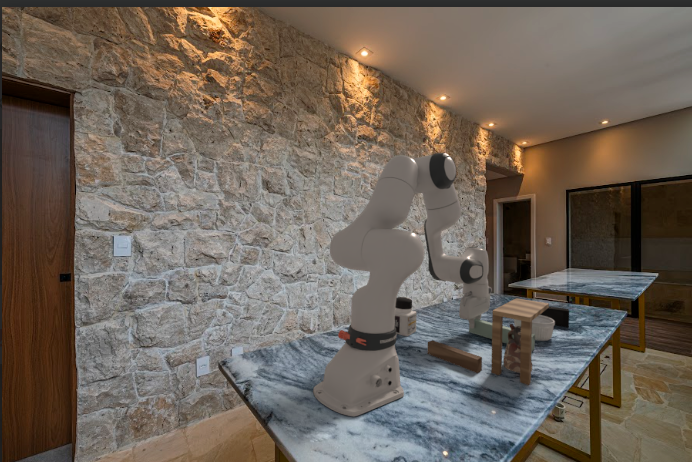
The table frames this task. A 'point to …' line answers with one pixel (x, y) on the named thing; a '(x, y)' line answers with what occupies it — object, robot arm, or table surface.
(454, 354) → the stick
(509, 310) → the shelf
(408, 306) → the container
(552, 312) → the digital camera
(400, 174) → the robot arm
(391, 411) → the table surface
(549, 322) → the ramekin
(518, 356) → the figurine
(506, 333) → the sage green l-bracket
